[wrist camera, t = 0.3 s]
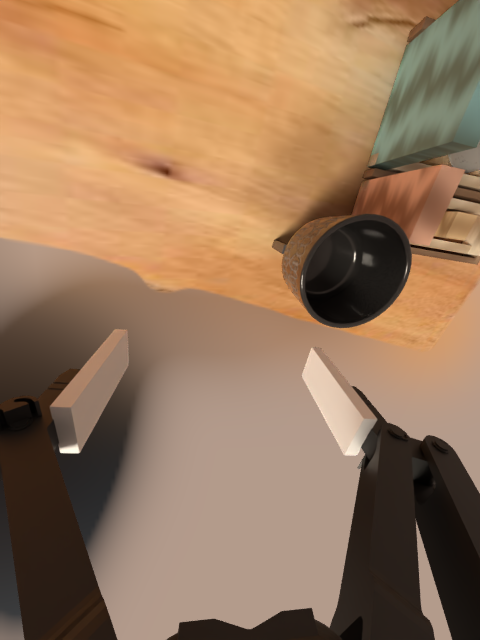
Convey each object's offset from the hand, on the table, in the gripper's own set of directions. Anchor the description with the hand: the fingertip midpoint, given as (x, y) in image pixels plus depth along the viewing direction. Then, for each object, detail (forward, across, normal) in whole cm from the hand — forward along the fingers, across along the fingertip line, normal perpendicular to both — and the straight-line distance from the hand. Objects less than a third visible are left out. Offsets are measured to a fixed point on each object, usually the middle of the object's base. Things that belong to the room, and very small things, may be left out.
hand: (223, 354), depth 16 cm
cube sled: (+28, +34, +14) cm, 46 cm away
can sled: (+28, +34, +27) cm, 51 cm away
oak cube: (+28, +40, +14) cm, 50 cm away
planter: (+28, +15, +5) cm, 32 cm away
